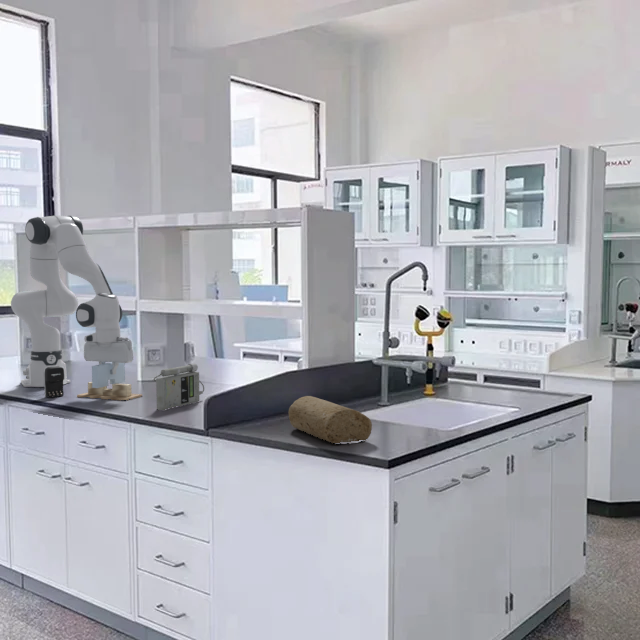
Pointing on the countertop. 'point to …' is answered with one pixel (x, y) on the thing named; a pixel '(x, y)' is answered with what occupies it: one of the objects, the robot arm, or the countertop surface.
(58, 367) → the battery
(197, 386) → the geiger counter
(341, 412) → the core sample
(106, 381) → the blue plate
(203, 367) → the countertop surface
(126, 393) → the joint jig
